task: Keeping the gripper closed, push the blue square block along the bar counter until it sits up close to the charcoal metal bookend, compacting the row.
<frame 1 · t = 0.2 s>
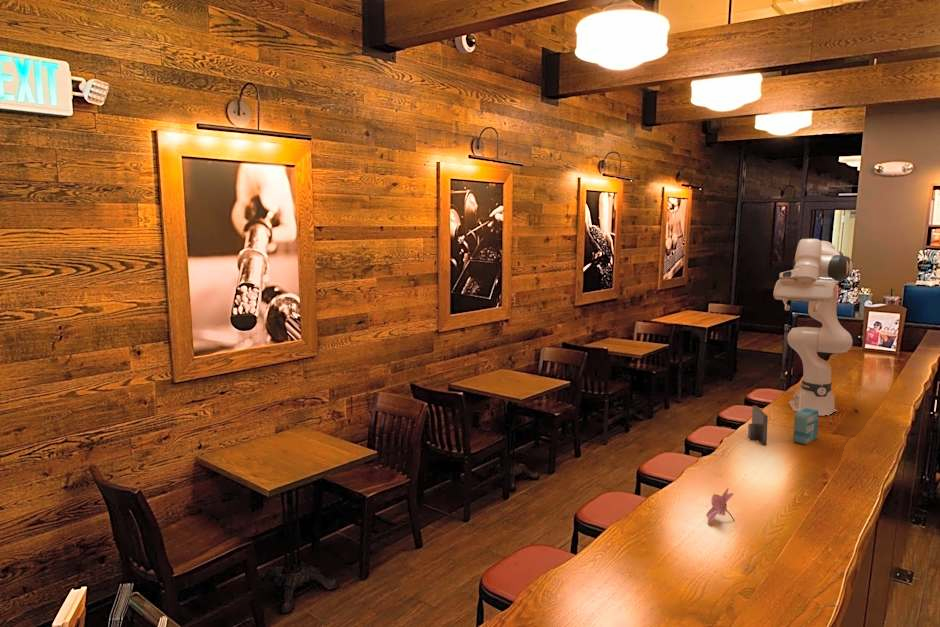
hand: (800, 310, 235), 54 cm above the bar counter, tool tilted 30°, fingers open, 8 cm apart
bookend: (758, 439, 253), on the bar counter
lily: (719, 521, 185), on the bar counter
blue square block: (805, 440, 250), on the bar counter
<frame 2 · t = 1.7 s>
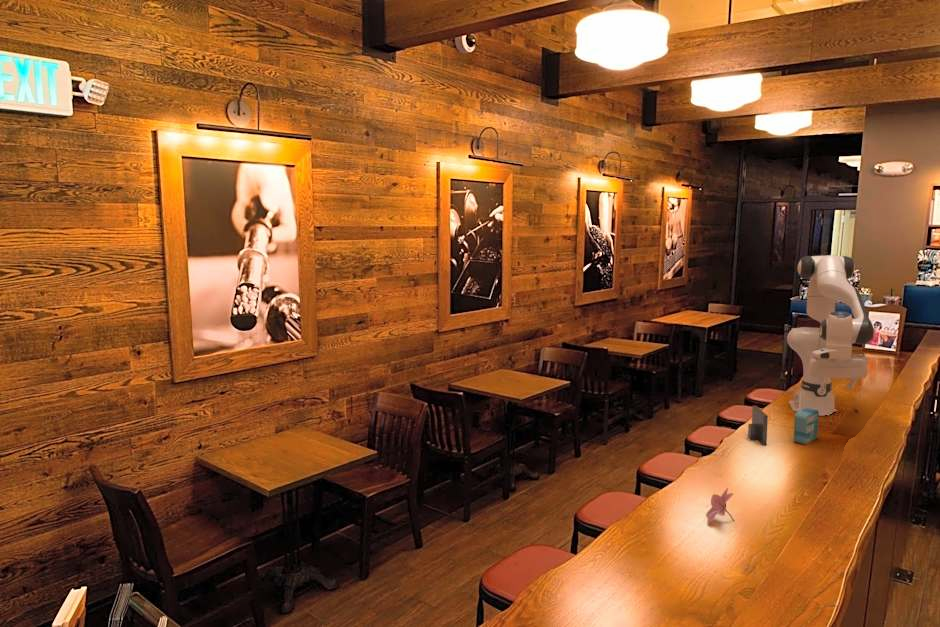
hand: (836, 388, 244), 22 cm above the bar counter, tool pointing down, fingers open, 8 cm apart
nothing on the bar counter moved.
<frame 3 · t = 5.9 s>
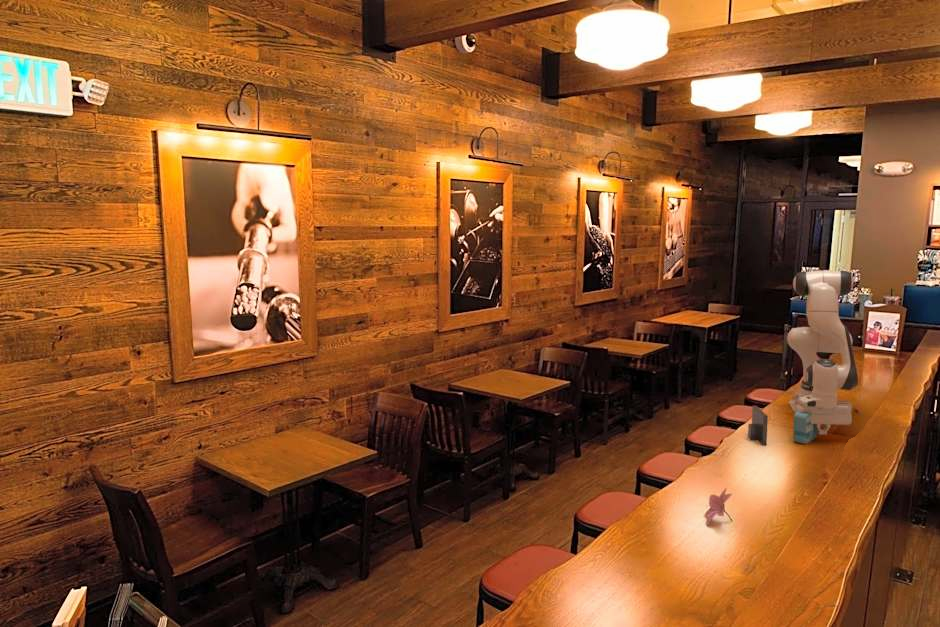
hand: (822, 434, 249), 3 cm above the bar counter, tool pointing down, fingers closed
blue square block: (805, 440, 250), on the bar counter, touching gripper
everything else where it was.
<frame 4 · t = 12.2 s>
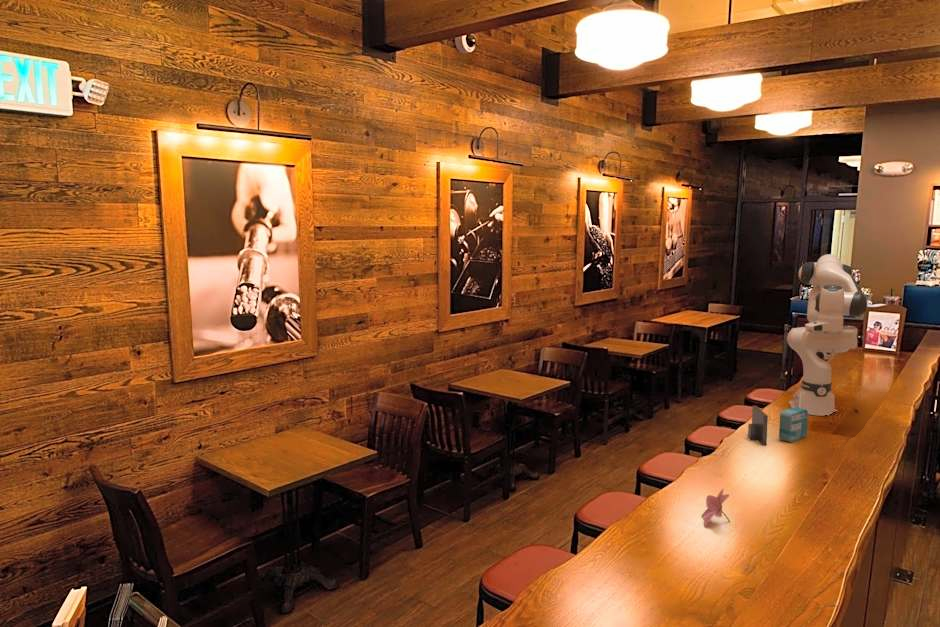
hand: (828, 359, 254), 31 cm above the bar counter, tool pointing down, fingers closed
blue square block: (792, 439, 252), on the bar counter
at the end: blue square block inside the target area (4.4 cm from its centre), on the bar counter; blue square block tilted 0°; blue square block moved 4.5 cm from its start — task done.
